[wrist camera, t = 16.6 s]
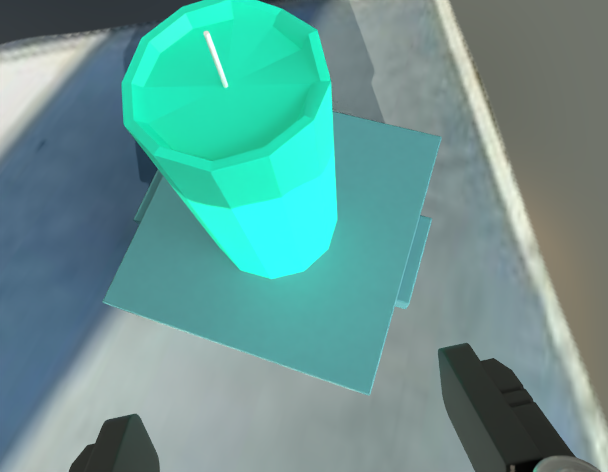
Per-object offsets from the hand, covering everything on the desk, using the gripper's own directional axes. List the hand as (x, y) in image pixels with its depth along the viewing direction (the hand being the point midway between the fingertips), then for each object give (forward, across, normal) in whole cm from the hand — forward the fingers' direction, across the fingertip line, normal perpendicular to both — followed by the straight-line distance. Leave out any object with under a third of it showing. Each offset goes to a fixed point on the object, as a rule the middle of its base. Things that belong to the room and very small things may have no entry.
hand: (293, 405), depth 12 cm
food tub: (+16, 0, +4) cm, 17 cm away
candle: (+12, 0, 0) cm, 12 cm away
